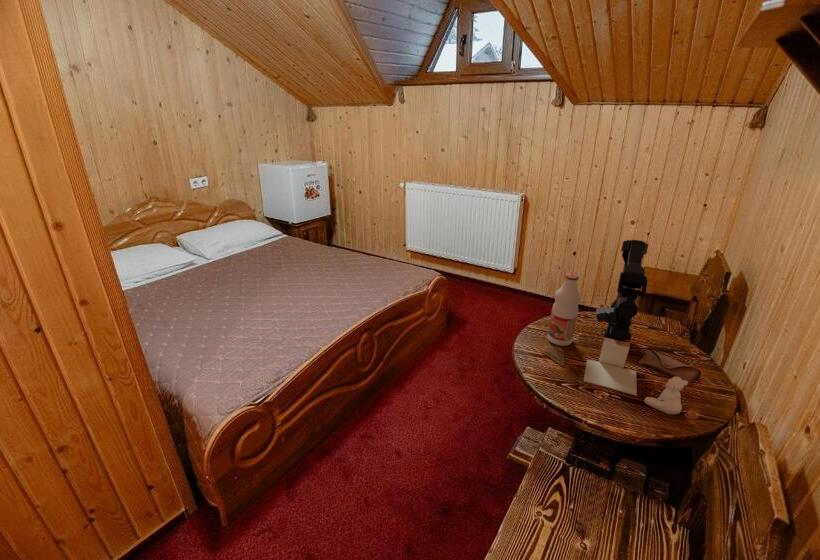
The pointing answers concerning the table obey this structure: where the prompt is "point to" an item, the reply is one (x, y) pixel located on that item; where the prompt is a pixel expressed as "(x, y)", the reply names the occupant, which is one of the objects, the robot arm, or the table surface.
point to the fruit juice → (564, 312)
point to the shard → (555, 354)
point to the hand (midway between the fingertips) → (615, 344)
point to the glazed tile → (614, 352)
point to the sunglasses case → (670, 366)
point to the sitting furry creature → (669, 397)
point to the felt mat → (611, 377)
